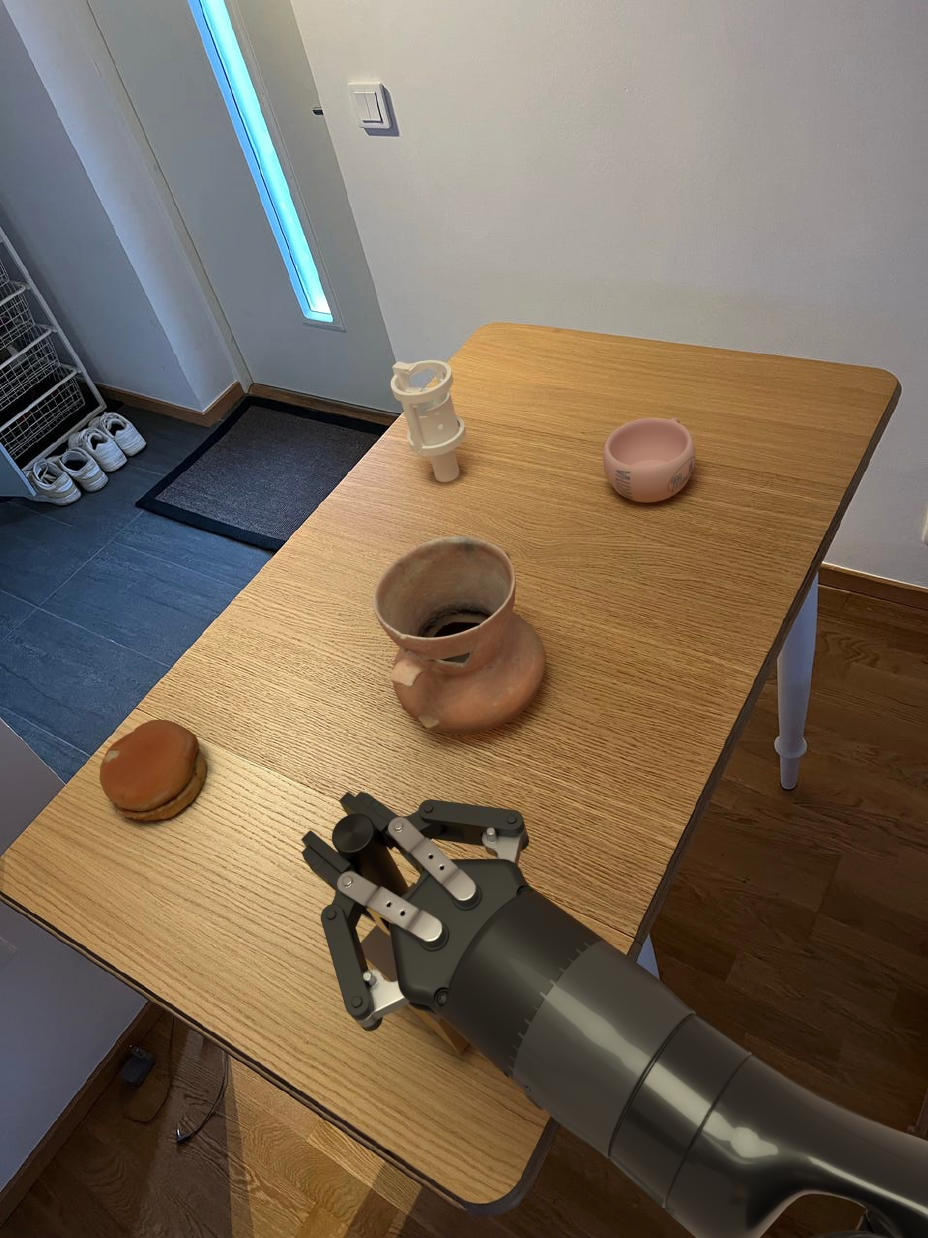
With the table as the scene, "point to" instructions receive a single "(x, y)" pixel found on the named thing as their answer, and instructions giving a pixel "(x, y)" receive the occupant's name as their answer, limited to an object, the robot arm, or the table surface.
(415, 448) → the strainer
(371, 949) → the knife block
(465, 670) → the ceramic jug
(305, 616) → the table surface
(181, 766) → the burger
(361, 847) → the black tall cylinder
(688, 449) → the mug
